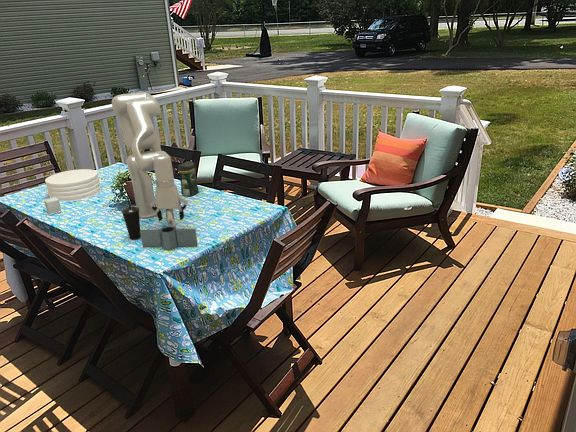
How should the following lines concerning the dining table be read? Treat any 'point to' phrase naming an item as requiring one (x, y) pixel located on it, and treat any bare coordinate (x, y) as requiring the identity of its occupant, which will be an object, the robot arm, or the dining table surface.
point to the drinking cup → (132, 221)
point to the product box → (52, 205)
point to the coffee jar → (188, 178)
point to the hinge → (169, 238)
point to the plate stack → (73, 185)
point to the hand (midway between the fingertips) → (171, 219)
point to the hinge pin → (170, 217)
